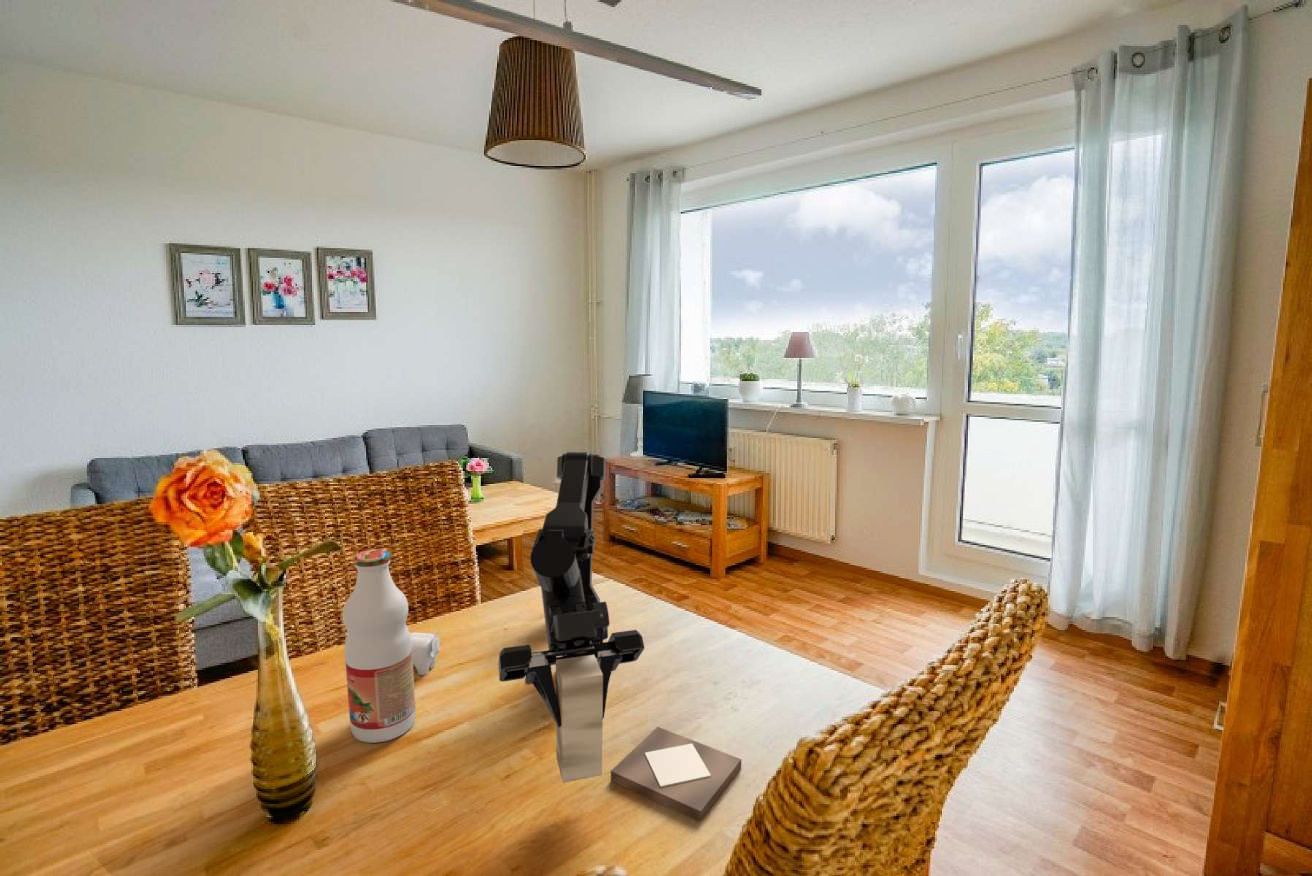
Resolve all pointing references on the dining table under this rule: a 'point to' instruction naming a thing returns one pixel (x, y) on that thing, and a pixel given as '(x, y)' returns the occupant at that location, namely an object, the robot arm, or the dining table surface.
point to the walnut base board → (677, 772)
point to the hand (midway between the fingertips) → (580, 723)
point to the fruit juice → (378, 653)
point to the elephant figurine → (424, 651)
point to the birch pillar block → (579, 717)
